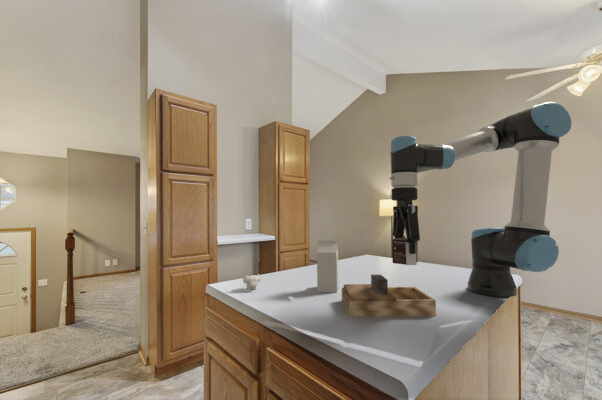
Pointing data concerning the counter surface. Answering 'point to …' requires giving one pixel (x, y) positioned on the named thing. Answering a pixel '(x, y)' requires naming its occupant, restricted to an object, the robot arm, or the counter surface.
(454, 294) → the counter surface
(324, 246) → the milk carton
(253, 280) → the elephant figurine
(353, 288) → the lid
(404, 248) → the box
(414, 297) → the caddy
